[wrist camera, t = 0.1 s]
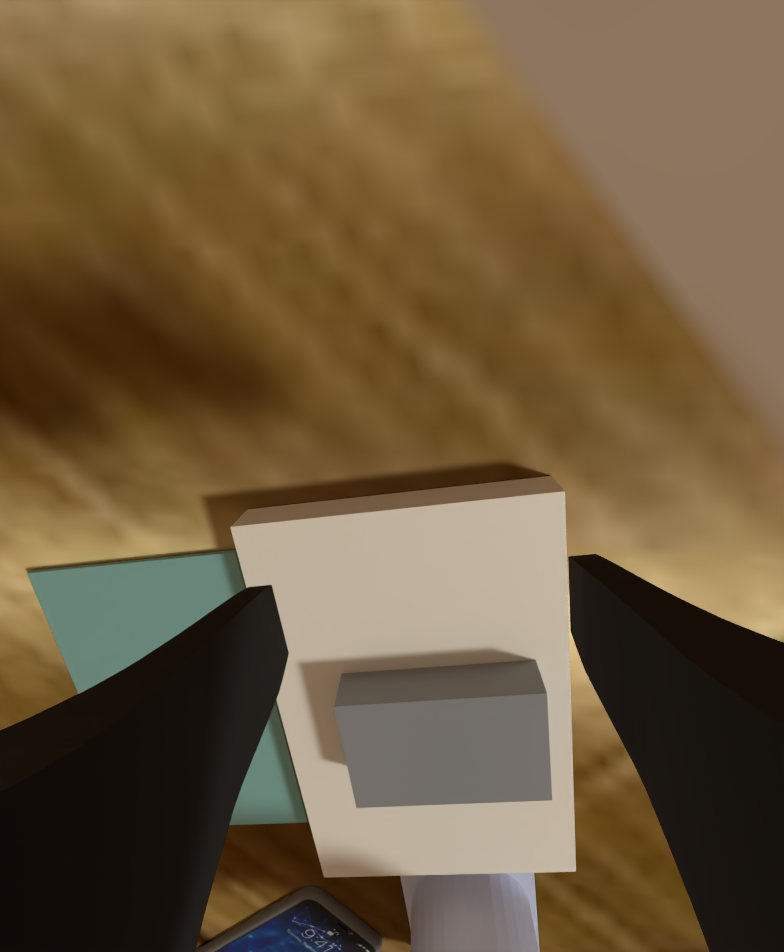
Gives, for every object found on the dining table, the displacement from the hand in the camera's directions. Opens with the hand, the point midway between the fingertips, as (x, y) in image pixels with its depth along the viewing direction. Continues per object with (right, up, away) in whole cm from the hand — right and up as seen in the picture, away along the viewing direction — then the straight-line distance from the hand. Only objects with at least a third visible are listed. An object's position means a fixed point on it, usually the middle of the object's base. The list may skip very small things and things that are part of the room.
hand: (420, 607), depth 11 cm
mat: (-12, -9, +14) cm, 21 cm away
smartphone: (-9, -30, +21) cm, 38 cm away
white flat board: (+1, -8, +13) cm, 15 cm away
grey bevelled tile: (+2, -8, +11) cm, 14 cm away
